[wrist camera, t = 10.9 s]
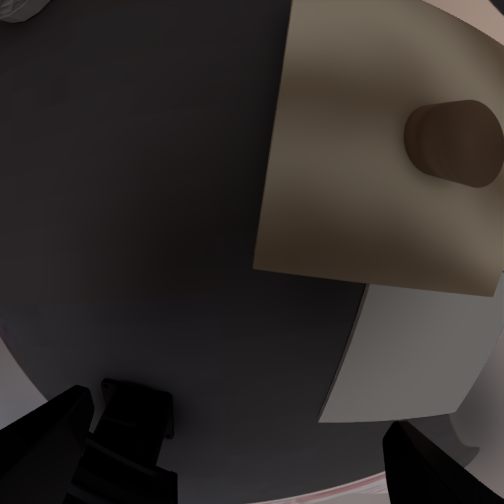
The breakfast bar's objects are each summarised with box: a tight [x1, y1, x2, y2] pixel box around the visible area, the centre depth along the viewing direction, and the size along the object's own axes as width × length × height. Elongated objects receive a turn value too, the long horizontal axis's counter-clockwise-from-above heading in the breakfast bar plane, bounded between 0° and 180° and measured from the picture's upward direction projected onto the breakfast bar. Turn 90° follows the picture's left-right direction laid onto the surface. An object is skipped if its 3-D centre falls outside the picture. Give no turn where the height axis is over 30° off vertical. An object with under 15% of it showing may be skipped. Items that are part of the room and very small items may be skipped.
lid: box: [253, 0, 504, 297], centre depth 11 cm, size 14×14×5 cm
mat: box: [317, 271, 504, 422], centre depth 22 cm, size 16×16×1 cm
